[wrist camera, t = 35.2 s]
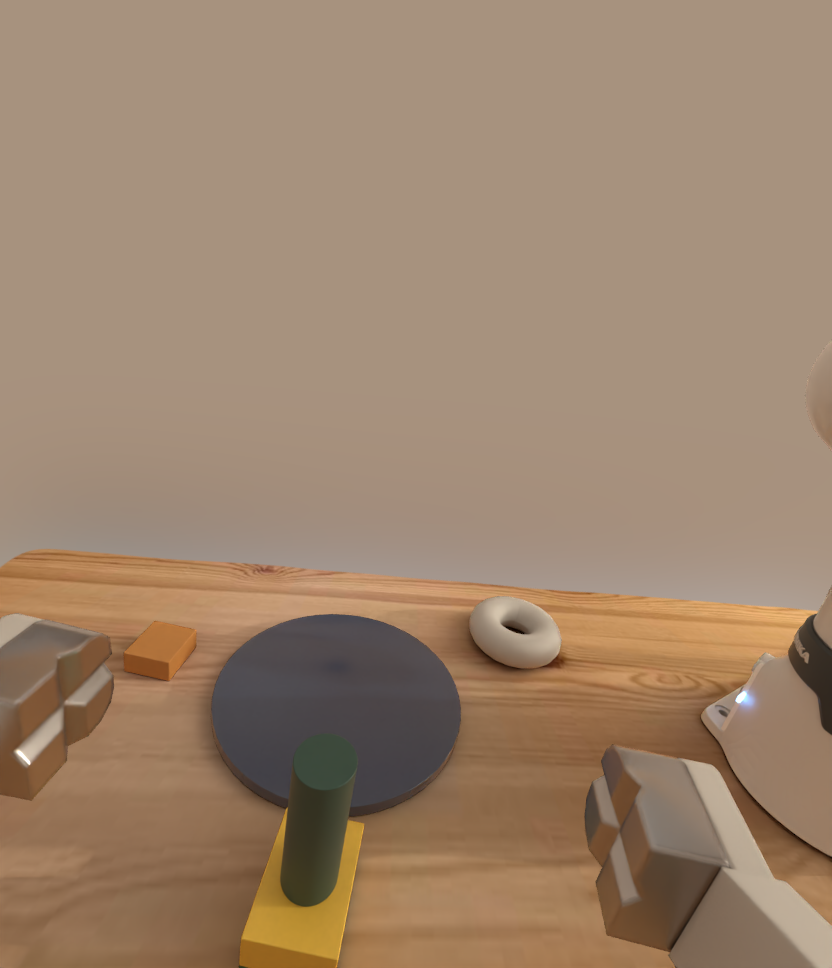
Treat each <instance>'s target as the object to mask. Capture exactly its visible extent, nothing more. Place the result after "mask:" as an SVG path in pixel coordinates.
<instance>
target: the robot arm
mask: <svg viewBox="0 0 832 968" xmlns="http://www.w3.org/2000/svg"><path fill="white" fill-rule="evenodd" d="M805 397H806V407H807V413H808V416H809V419H810V422H811V424H812V426H813V428H814V429H815V431H816V433H817V434H818V436H819V437H820V438H821V439H822V440H823V441H824V442H825V444H826V445H827V446H828V447H829V449H830V450H831V452H832V340H831V341H830V342H829V343H828V345H827V346H826V347H825V348H824V349H823V351H822V352H821V353H820V355H819V356H818V358H817V359H816V361H815V363H814V365H813V367H812V369H811V372H810V374H809V377H808V381H807V385H806V394H805ZM794 637H795V638H794V641H793V643H792V645H791V646H790V648H789V651H788V654H786V655H783V656H780V657H777V658H776V657H774V656H772V655H771V654H769V653H764V654H763V655H762V656H761V657H760V658H759V660H758V661H757V662H756V663H755V665H754V666H753V668H752V672H753V673H752V675H751V676H750V678H749V680H748V682H747V683H746V684H744V685H743V686H741V687H739V688H738V689H736V690H734V691H733V692H731V693H729V694H728V695H726V696H724V697H723V698H721V699H719V700H718V701H716V702H714V703H713V704H711V705H709V706H708V707H706V708H705V710H704V711H703V713H702V714H701V719H702V721H703V723H704V724H705V726H706V727H707V728H708V730H709V731H710V732H711V733H712V734H713V735H714V737H715V738H716V739H717V740H718V741H719V743H720V744H721V746H722V748H723V750H724V753H725V755H726V757H727V760H728V762H729V764H730V766H731V768H732V770H733V771H734V773H735V774H736V776H737V777H738V779H739V780H740V782H741V783H742V784H743V786H744V787H745V788H746V789H747V791H748V792H749V793H750V794H751V795H752V796H753V797H754V798H755V800H756V801H757V802H758V803H759V804H760V805H761V806H762V807H763V808H764V809H765V810H766V811H767V812H769V813H770V814H771V815H772V816H773V817H774V818H775V819H776V820H778V821H779V822H780V823H781V824H782V825H784V826H785V827H786V828H788V829H789V830H790V831H791V832H793V833H794V834H795V835H797V836H798V837H800V838H801V839H803V840H804V841H806V842H807V843H809V844H810V845H812V846H813V847H815V848H817V849H818V850H820V851H822V852H823V853H825V854H827V855H829V856H831V857H832V586H831V588H830V590H829V592H828V594H827V596H826V598H825V600H824V602H823V604H822V605H821V608H820V609H819V611H818V613H817V614H814V615H812V616H810V617H809V618H807V620H806V621H805V623H804V624H803V625H802V626H801V627H800V628H799V629H798V631H797V633H796V634H795V636H794ZM111 654H112V651H111V642H110V637H108V636H106V635H104V634H102V633H99V632H95V631H91V630H87V629H82V628H78V627H74V626H70V625H66V624H62V623H58V622H54V621H50V620H43V619H39V618H35V617H31V616H27V615H23V614H19V613H15V614H11V615H6V616H3V617H2V618H0V794H1V795H6V796H11V797H16V798H21V799H26V800H31V801H32V800H33V798H34V797H35V796H36V795H37V794H38V793H39V792H40V790H41V789H42V788H43V787H44V786H45V785H46V784H47V782H48V781H49V780H50V779H51V778H52V777H53V776H54V775H55V773H56V772H57V771H58V770H59V769H60V768H61V767H62V765H63V764H64V763H65V762H66V761H67V752H68V746H69V745H71V744H73V743H75V742H77V741H79V740H81V739H83V738H85V737H87V736H89V735H90V733H91V732H92V731H93V730H94V729H95V727H96V726H97V725H98V724H99V723H100V721H101V720H102V718H103V716H104V714H105V712H106V710H107V708H108V706H109V704H110V703H111V699H112V694H113V689H114V679H113V674H112V673H111V672H110V670H109V669H108V668H107V666H106V665H105V664H104V662H105V661H106V659H107V658H108V657H109V656H110V655H111ZM601 763H602V767H603V771H604V775H603V776H601V777H600V778H598V779H596V780H594V781H593V782H592V784H591V787H590V790H589V792H588V795H587V799H586V808H585V829H586V836H587V842H588V847H589V850H590V852H591V853H592V854H593V856H594V857H595V858H596V860H597V861H598V862H599V864H600V865H601V866H602V869H601V871H600V874H599V876H598V878H597V880H596V886H597V891H598V896H599V901H600V906H601V910H602V915H603V920H604V925H605V929H606V934H607V935H608V936H611V937H615V938H619V939H623V940H626V941H630V942H634V943H638V944H641V945H645V946H649V947H653V948H656V949H660V950H664V951H668V952H670V953H669V955H668V956H669V957H670V959H671V960H672V962H673V963H674V965H675V967H676V968H832V926H831V925H830V924H829V923H828V922H827V921H826V920H825V919H824V918H823V917H822V916H821V915H820V914H819V913H818V912H817V911H816V910H815V909H814V908H813V907H812V906H811V905H810V904H809V903H808V902H806V901H805V900H804V899H803V898H802V897H801V896H800V895H799V894H798V893H797V892H796V891H795V890H794V889H793V888H792V887H791V886H790V885H789V884H788V883H787V882H786V881H782V880H778V879H774V877H773V875H772V873H771V871H770V869H769V867H768V865H767V863H766V861H765V859H764V857H763V855H762V853H761V851H760V850H759V848H758V846H757V844H756V842H755V840H754V838H753V836H752V834H751V832H750V830H749V828H748V826H747V824H746V822H745V820H744V818H743V817H742V815H741V813H740V811H739V809H738V807H737V805H736V803H735V801H734V799H733V797H732V795H731V793H730V791H729V789H728V787H727V786H726V784H725V782H724V780H723V778H722V776H721V774H720V772H719V771H718V770H717V769H716V768H715V767H714V766H713V765H711V764H707V763H702V762H697V761H692V760H687V759H682V758H675V757H672V756H667V755H662V754H657V753H653V752H648V751H643V750H638V749H633V748H629V747H624V746H619V745H614V744H612V745H611V746H610V747H609V748H607V749H606V751H605V753H604V756H603V758H602V760H601Z"/></svg>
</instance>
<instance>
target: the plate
mask: <svg viewBox="0 0 832 968" xmlns="http://www.w3.org/2000/svg"><path fill="white" fill-rule="evenodd" d="M460 721H461V707H460V700H459V695H458V692H457V689H456V685H455V683H454V681H453V679H452V677H451V675H450V673H449V671H448V670H447V668H446V667H445V665H444V664H443V663H442V661H441V660H440V659H439V658H438V657H437V656H436V654H435V653H433V652H432V651H431V650H430V649H429V648H428V647H427V646H426V645H424V644H423V643H422V642H420V641H419V640H418V639H416V638H415V637H413V636H411V635H410V634H408V633H406V632H405V631H402V630H400V629H398V628H396V627H394V626H392V625H389V624H386V623H384V622H380V621H377V620H373V619H370V618H365V617H360V616H352V615H339V614H327V615H314V616H307V617H302V618H297V619H293V620H290V621H286V622H283V623H280V624H278V625H276V626H273V627H271V628H268V629H267V630H265V631H263V632H261V633H259V634H258V635H256V636H254V637H253V638H252V639H250V640H249V641H247V642H246V643H245V644H244V645H243V646H242V647H240V648H239V649H238V650H237V651H236V652H235V653H234V654H233V656H232V657H231V658H230V659H229V660H228V662H227V663H226V665H225V666H224V668H223V669H222V671H221V673H220V675H219V677H218V680H217V682H216V684H215V688H214V692H213V696H212V708H211V723H212V732H213V736H214V739H215V743H216V746H217V748H218V750H219V752H220V754H221V756H222V758H223V760H224V762H225V763H226V764H227V766H228V767H229V768H230V770H231V771H232V773H233V774H234V775H235V776H236V777H237V778H238V779H239V780H240V781H241V782H242V783H243V784H244V785H245V786H247V787H248V788H249V789H251V790H252V791H254V792H255V793H256V794H258V795H259V796H261V797H263V798H265V799H266V800H268V801H270V802H272V803H274V804H276V805H278V806H281V807H284V808H287V807H288V801H289V791H290V782H291V773H292V764H293V757H294V754H295V752H296V750H297V748H298V747H299V746H300V744H301V743H302V742H303V741H305V740H306V739H308V738H310V737H312V736H314V735H317V734H324V733H328V734H335V735H338V736H341V737H343V738H345V739H346V740H347V741H348V742H350V743H351V745H352V746H353V747H354V749H355V751H356V754H357V758H358V765H357V771H356V777H355V782H354V788H353V794H352V799H351V805H350V811H349V816H359V815H364V814H369V813H375V812H378V811H381V810H384V809H387V808H390V807H393V806H395V805H397V804H399V803H401V802H403V801H405V800H407V799H409V798H411V797H412V796H414V795H415V794H417V793H418V792H420V791H421V790H423V789H424V788H425V787H426V786H427V785H428V784H429V783H430V782H432V781H433V780H434V779H435V778H436V777H437V775H438V774H439V773H440V771H441V770H442V769H443V768H444V766H445V765H446V763H447V761H448V759H449V758H450V756H451V754H452V751H453V749H454V746H455V743H456V740H457V736H458V732H459V727H460Z"/></svg>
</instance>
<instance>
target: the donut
mask: <svg viewBox="0 0 832 968" xmlns="http://www.w3.org/2000/svg"><path fill="white" fill-rule="evenodd" d="M503 626H507V627H512V628H515V629H518V630H520V631H522V632H523V633H525V634H519V633H515V632H512V631H510V630H508V629H506V628H505V627H503ZM470 632H471V635H472V637H473V639H474V641H475V643H476V644H477V645H478V646H479V647H480V648H481V649H482V651H483V652H484V653H485V654H487V655H488V656H490V657H491V658H493V659H494V660H496V661H498V662H500V663H503V664H505V665H508V666H512V667H517V668H522V669H524V668H538V667H541V666H544V665H547V664H548V663H550V662H551V661H552V660H553V659H554V658H555V657H556V656H557V655H558V653H559V650H560V646H561V641H562V639H561V635H560V632H559V628H558V626H557V625H556V623H555V622H554V620H553V619H552V618H551V616H550V615H548V614H547V613H546V612H545V611H544V610H543V609H541V608H539V607H538V606H536V605H534V604H532V603H530V602H527V601H525V600H522V599H519V598H514V597H508V596H497V597H493V598H488V599H485V600H484V601H482V602H481V603H479V604H478V605H477V606H476V607H475V608H474V610H473V612H472V613H471V615H470Z"/></svg>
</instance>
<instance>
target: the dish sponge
mask: <svg viewBox="0 0 832 968" xmlns="http://www.w3.org/2000/svg"><path fill="white" fill-rule="evenodd" d="M357 765H358V758H357V754H356V751H355V749H354V747H353V746H352V745H351V743H350V742H348V741H347V740H346V739H345V738H343V737H341V736H338V735H335V734H328V733H324V734H317V735H314V736H312V737H310V738H308V739H306V740H305V741H303V742H302V743H301V744H300V746H299V747H298V748H297V750H296V752H295V754H294V757H293V764H292V773H291V782H290V791H289V801H288V807H287V808H286V811H285V814H284V817H283V819H282V822H281V825H280V828H279V831H278V834H277V837H276V839H275V842H274V845H273V848H272V851H271V854H270V857H269V859H268V862H267V865H266V868H265V871H264V874H263V876H262V879H261V882H260V885H259V888H258V891H257V894H256V896H255V899H254V902H253V905H252V908H251V911H250V914H249V916H248V919H247V922H246V925H245V928H244V931H243V934H242V936H241V944H240V959H239V968H337V964H338V959H339V953H340V948H341V943H342V938H343V933H344V928H345V923H346V917H347V912H348V907H349V902H350V897H351V892H352V886H353V881H354V876H355V871H356V866H357V861H358V855H359V850H360V845H361V840H362V835H363V830H364V823H360V822H355V821H350V820H348V817H349V811H350V805H351V799H352V794H353V788H354V782H355V777H356V771H357Z"/></svg>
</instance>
